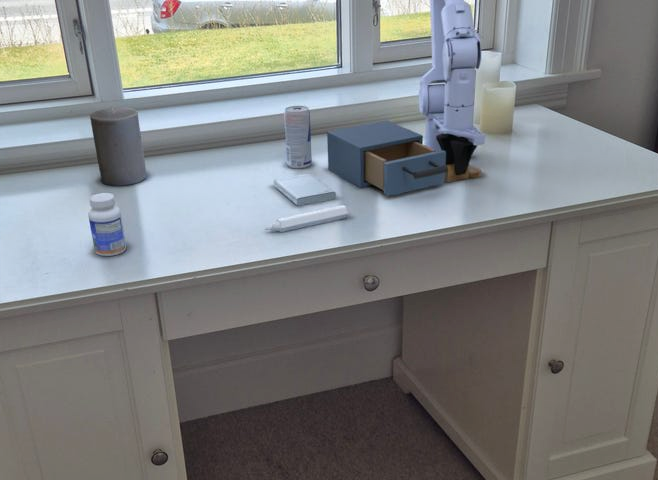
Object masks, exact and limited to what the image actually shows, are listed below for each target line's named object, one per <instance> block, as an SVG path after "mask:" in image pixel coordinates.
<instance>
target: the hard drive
mask: <svg viewBox="0 0 658 480" xmlns="http://www.w3.org/2000/svg"><path fill="white" fill-rule="evenodd" d="M273 187H275V188H276V189H277V190H278V191H280V193H282V194H283V196H285V197H287V198H288V199H289V200H290V201H291V202H293V203H294V204H295V205H296V206H305V205H310V204H315V203H321V202H327V201H331V200H332V201H333V200H335V199H336V198H337V192H336V191H335V190H333V189H332V188H331V187H329V186H328V185H326V184H325V183H324V182H322V181H321V180H320V179H318V178H317V177H315V175H313V174H312V173H303V174H297V175H292V176H287V177H286V176H285V177H283V178H282V177H281V178H275V179H274V180H273Z"/></svg>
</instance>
